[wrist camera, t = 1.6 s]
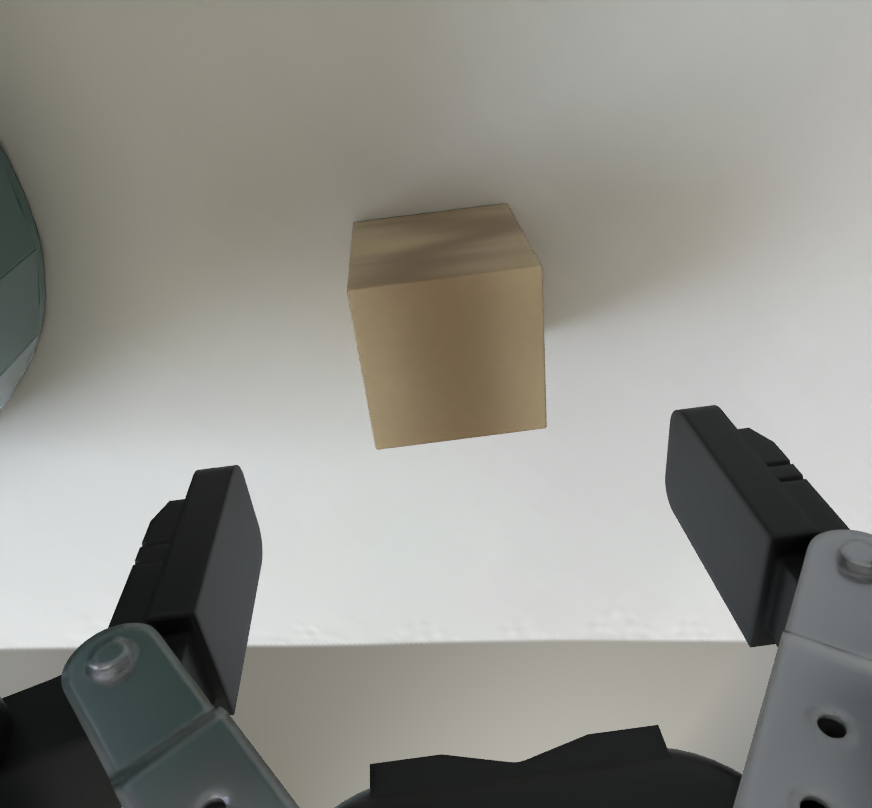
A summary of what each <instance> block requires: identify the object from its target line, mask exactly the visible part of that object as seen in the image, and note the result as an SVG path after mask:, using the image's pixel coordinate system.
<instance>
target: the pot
mask: <svg viewBox="0 0 872 808" xmlns="http://www.w3.org/2000/svg"><path fill="white" fill-rule="evenodd" d="M44 304H45V279H44V263H43V258H42V253H41V248H40V243H39V238H38V233H37V229H36V226H35V223H34V220H33V217H32V215H31V212H30V209H29V206H28V203H27V200H26V197H25V194H24V192H23V190H22V188H21V186H20V184H19V182H18V180H17V178H16V176H15V173H14V171H13V169H12V167H11V165H10V163H9V161H8V159H7V157H6V156H5V154H4V152H3V151H2V149H1V148H0V410H1V409H2V408H3V407H4V405H5V404H6V403H7V402H8V401H9V399H10V398H11V397H12V395H13V392H14V390H15V388H16V385H17V383H18V382H19V380H20V379H21V378H22V376H23V375H24V373H25V371H26V369H27V367H28V365H29V363H30V361H31V358H32V356H33V354H34V352H35V350H36V346H37V342H38V339H39V335H40V332H41V328H42V324H43V314H44Z"/></svg>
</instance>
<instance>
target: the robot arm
mask: <svg viewBox="0 0 872 808" xmlns="http://www.w3.org/2000/svg"><path fill="white" fill-rule="evenodd" d="M665 483H666V492H667V497H668V500H669V503H670V506H671V509H672V511H673V512H674V514H675V516H676V518H677V519H678V521H679V523H680V525H681V526H682V528H683V530H684V532H685V533H686V535H687V537H688V539H689V541H690V542H691V544H692V546H693V548H694V549H695V551H696V553H697V555H698V556H699V558H700V560H701V562H702V563H703V565H704V567H705V569H706V570H707V572H708V574H709V576H710V577H711V579H712V581H713V583H714V584H715V586H716V588H717V590H718V591H719V593H720V595H721V597H722V598H723V600H724V602H725V604H726V605H727V607H728V609H729V611H730V612H731V614H732V616H733V618H734V619H735V621H736V623H737V625H738V626H739V628H740V630H741V632H742V633H743V635H744V637H745V639H746V641H747V642H748V644H749V646H750V647H756V646H764V645H770V644H776V645H777V647H778V650H777V653H776V657H775V661H774V664H773V668H772V671H771V675H770V678H769V682H768V685H767V689H766V692H765V696H764V699H763V703H762V707H761V710H760V714H759V717H758V721H757V724H756V728H755V731H754V735H753V739H752V743H751V746H750V749H749V753H748V756H747V760H746V763H745V767H744V770H743V774H740V773H738V772H737V771H735V770H734V769H732V768H730V767H728V766H725V765H723V764H721V763H719V762H717V761H715V760H712V759H709V758H706V757H704V756H701V755H698V754H695V753H690V752H686V751H681V750H677V749H668V748H667V747H666V744H665V742H664V739H663V737H662V734H661V731H660V729H659V726H658V725H654V726H647V727H639V728H632V729H625V730H618V731H610V732H603V733H596V734H588V735H586V736H583V737H581V738H578V739H576V740H573V741H571V742H569V743H566V744H564V745H561V746H559V747H557V748H554V749H551V750H549V751H547V752H544V753H542V754H539V755H537V756H535V757H532V758H530V759H527V760H525V761H521V762H513V763H512V762H502V761H494V760H485V759H476V758H467V757H459V756H450V755H435V756H427V757H419V758H412V759H405V760H397V761H391V762H383V763H376V764H370V789H367V790H365V791H363V792H360V793H358V794H356V795H354V796H353V797H351V798H349V799H347V800H345V801H344V802H342V803H341V804H339V805H338V806H336V807H335V808H872V534H869V533H865V532H860V531H855V530H850V529H849V528H848V527H847V526H846V524H845V523H844V522H843V521H842V520H841V519H840V518H839V516H838V515H837V514H836V513H835V512H834V511H833V509H832V508H831V507H830V506H829V505H828V504H827V503H826V501H825V500H824V499H823V498H822V497H821V496H820V495H819V493H818V492H817V491H816V490H815V489H814V488H813V487H812V485H811V484H810V483H809V482H808V481H807V480H806V479H803V475H802V474H801V473H800V472H799V470H798V469H797V468H796V467H795V466H794V465H793V464H790V460H789V459H788V458H787V457H786V456H785V454H784V453H783V452H782V451H781V450H780V449H779V448H778V446H777V445H776V444H775V443H774V442H773V441H771V440H769V439H767V438H766V437H764V436H762V435H760V434H759V433H757V432H755V431H754V430H752V429H750V428H744V429H737V428H736V427H735V426H734V425H733V423H732V422H731V421H730V420H729V418H728V417H727V416H726V415H725V413H724V412H723V411H722V410H721V409H720V408H719V407H718V406H716V405H712V406H704V407H696V408H688V409H681V410H675V411H674V412H673V413H672V415H671V420H670V429H669V441H668V452H667V464H666V475H665ZM261 564H262V540H261V533H260V529H259V525H258V522H257V518H256V515H255V512H254V508H253V505H252V502H251V498H250V495H249V492H248V488H247V485H246V482H245V478H244V475H243V472H242V470H241V468H240V467H239V466H238V465H233V466H226V467H218V468H210V469H202V470H197V471H196V472H195V473H194V475H193V478H192V481H191V484H190V486H189V489H188V492H187V495H186V498H185V499H182V500H174V501H169V502H168V503H167V504H166V506H165V507H164V508H163V509H162V510H161V511H160V512H159V513H158V514H157V515H156V516H155V517H154V518H153V519H152V520H151V522H150V524H149V527H148V529H147V532H146V534H145V537H144V539H143V542H142V547H140V549H139V552H138V554H137V557H136V559H135V565H133V567H132V569H131V572H130V574H129V577H128V579H127V582H126V584H125V587H124V589H123V592H122V594H121V597H120V599H119V602H118V604H117V607H116V609H115V612H114V614H113V617H112V619H111V622H110V625H109V627H108V629H105V630H103V631H101V632H99V633H97V634H95V635H94V636H92V637H91V638H89V639H88V640H87V641H85V642H84V643H83V644H82V645H81V646H80V647H79V648H78V649H77V650H76V651H75V652H74V653H73V654H72V655H71V657H70V658H69V659H68V661H67V663H66V665H65V667H64V669H63V672H62V675H60V676H58V677H56V678H53V679H51V680H49V681H46V682H44V683H41V684H38V685H36V686H33V687H31V688H28V689H25V690H23V691H20V692H18V693H15V694H12V695H10V696H7V697H5V698H2V699H1V697H0V808H121V807H123V808H299V806H298V805H297V804H296V802H295V801H294V800H293V798H292V797H291V796H290V794H289V793H288V792H287V791H286V789H285V788H284V786H283V785H282V784H281V783H280V781H279V780H278V779H277V777H276V776H275V775H274V773H273V772H272V771H271V769H270V768H269V767H268V765H267V764H266V763H265V761H264V760H263V759H262V757H261V756H260V755H259V753H258V752H257V751H256V749H255V748H254V747H253V745H252V744H251V743H250V741H249V740H248V739H247V738H246V736H245V735H244V734H243V732H242V731H241V730H240V728H239V727H238V726H237V724H236V723H235V722H234V720H233V719H232V718H231V716H230V715H234V713H235V707H236V701H237V696H238V690H239V684H240V680H241V674H242V668H243V663H244V657H245V652H246V646H247V641H248V635H249V630H250V624H251V619H252V613H253V608H254V602H255V597H256V591H257V586H258V580H259V575H260V569H261Z"/></svg>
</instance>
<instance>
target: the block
mask: <svg viewBox="0 0 872 808" xmlns="http://www.w3.org/2000/svg"><path fill="white" fill-rule="evenodd" d="M347 294H348V299H349V305H350V310H351V316H352V321H353V327H354V332H355V338H356V343H357V349H358V354H359V360H360V365H361V371H362V376H363V382H364V387H365V393H366V398H367V404H368V409H369V415H370V420H371V426H372V431H373V437H374V442H375V448H376V449H386V448H394V447H402V446H409V445H417V444H425V443H433V442H441V441H449V440H456V439H464V438H472V437H480V436H488V435H496V434H504V433H511V432H519V431H527V430H535V429H543V428H546V426H547V422H546V385H545V347H544V309H543V271H542V265H541V263H540V262H539V260H538V258H537V256H536V254H535V253H534V251H533V249H532V247H531V245H530V244H529V242H528V240H527V238H526V237H525V235H524V233H523V231H522V229H521V228H520V226H519V224H518V222H517V221H516V219H515V217H514V215H513V213H512V212H511V210H510V208H509V206H508V204H506V203H505V204H497V205H489V206H481V207H473V208H465V209H457V210H449V211H441V212H433V213H425V214H417V215H409V216H401V217H393V218H385V219H377V220H369V221H361V222H354V223H353V229H352V240H351V252H350V263H349V275H348V286H347Z"/></svg>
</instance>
